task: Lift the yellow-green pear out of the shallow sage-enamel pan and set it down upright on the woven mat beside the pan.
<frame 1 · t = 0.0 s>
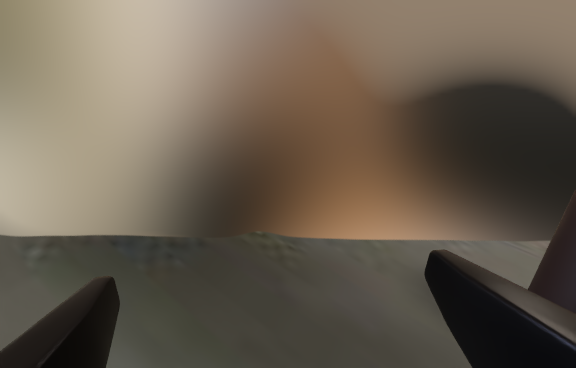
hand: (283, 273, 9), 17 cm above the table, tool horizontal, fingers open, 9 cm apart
bottle: (556, 353, 26), on the table
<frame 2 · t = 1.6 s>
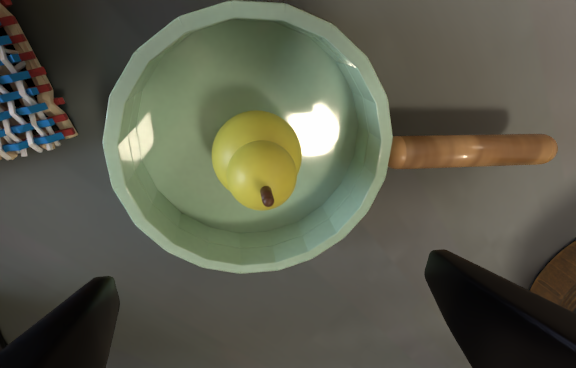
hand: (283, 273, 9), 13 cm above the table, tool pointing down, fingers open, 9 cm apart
pear: (253, 141, 20), point 1 cm above the table, touching pan
pan: (253, 138, 21), on the table
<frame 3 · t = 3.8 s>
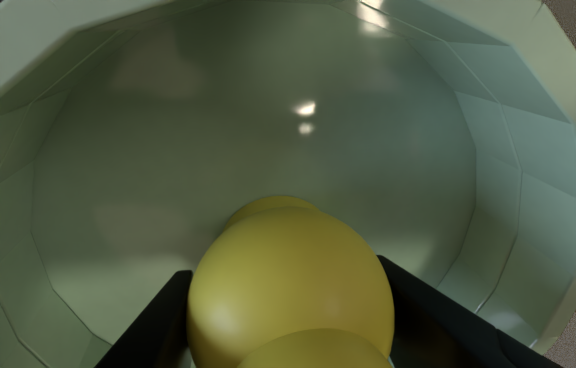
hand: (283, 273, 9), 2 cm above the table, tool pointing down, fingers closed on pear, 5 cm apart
pear: (276, 243, 10), point 1 cm above the table, touching gripper, pan
pan: (274, 233, 11), on the table
when the fingers open (3 cm above the table, at t = 9.0 s): pear stays where it is, resting on woven mat.
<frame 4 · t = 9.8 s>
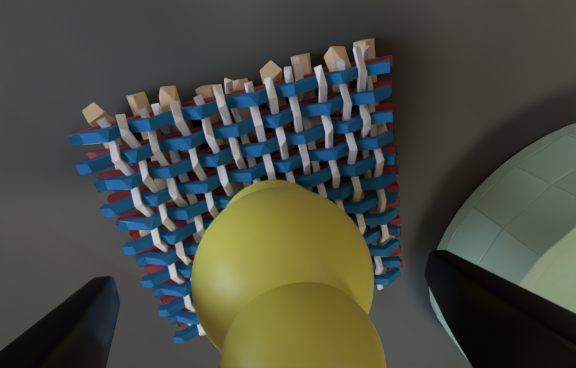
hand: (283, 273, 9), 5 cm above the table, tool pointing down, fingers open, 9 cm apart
woven mat: (266, 195, 13), on the table, touching pear
pear: (272, 224, 11), point 2 cm above the table, touching woven mat
pan: (557, 249, 18), on the table
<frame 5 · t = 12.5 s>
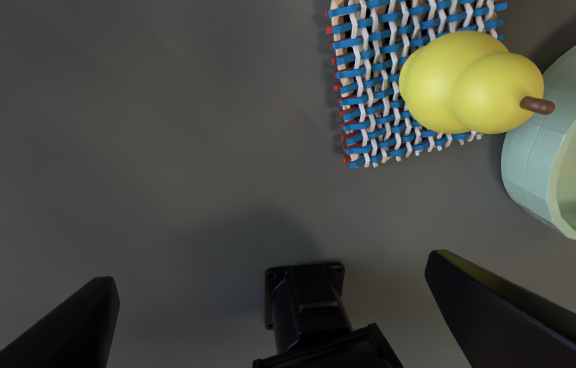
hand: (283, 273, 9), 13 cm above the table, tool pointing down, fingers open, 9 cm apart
woven mat: (408, 72, 21), on the table, touching pear
pear: (427, 77, 19), point 2 cm above the table, touching woven mat
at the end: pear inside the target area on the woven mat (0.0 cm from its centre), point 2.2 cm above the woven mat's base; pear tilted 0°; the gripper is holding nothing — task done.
